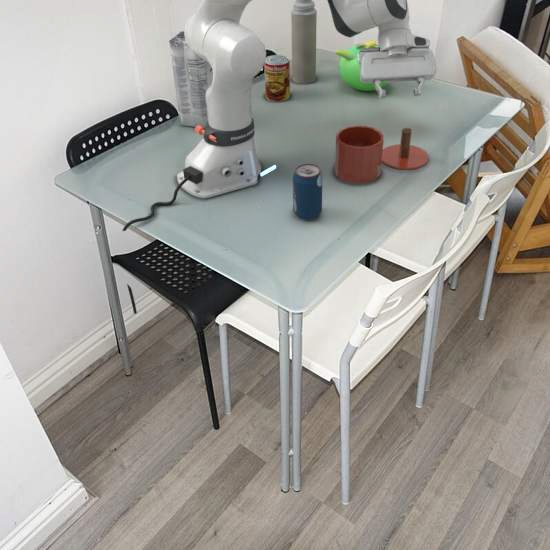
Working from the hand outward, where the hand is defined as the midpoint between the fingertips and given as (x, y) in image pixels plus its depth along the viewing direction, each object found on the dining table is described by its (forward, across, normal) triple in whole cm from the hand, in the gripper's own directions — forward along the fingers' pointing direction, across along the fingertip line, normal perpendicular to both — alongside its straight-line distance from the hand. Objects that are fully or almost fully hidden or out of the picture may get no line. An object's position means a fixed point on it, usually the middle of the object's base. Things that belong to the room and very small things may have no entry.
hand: (400, 96), depth 166 cm
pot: (+20, -13, -1) cm, 24 cm away
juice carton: (-4, -55, +24) cm, 60 cm away
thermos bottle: (-24, -21, +43) cm, 53 cm away
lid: (+16, 0, +2) cm, 16 cm away
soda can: (+32, -28, -13) cm, 45 cm away
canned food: (-15, -30, +34) cm, 48 cm away
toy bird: (-16, -2, +36) cm, 39 cm away
